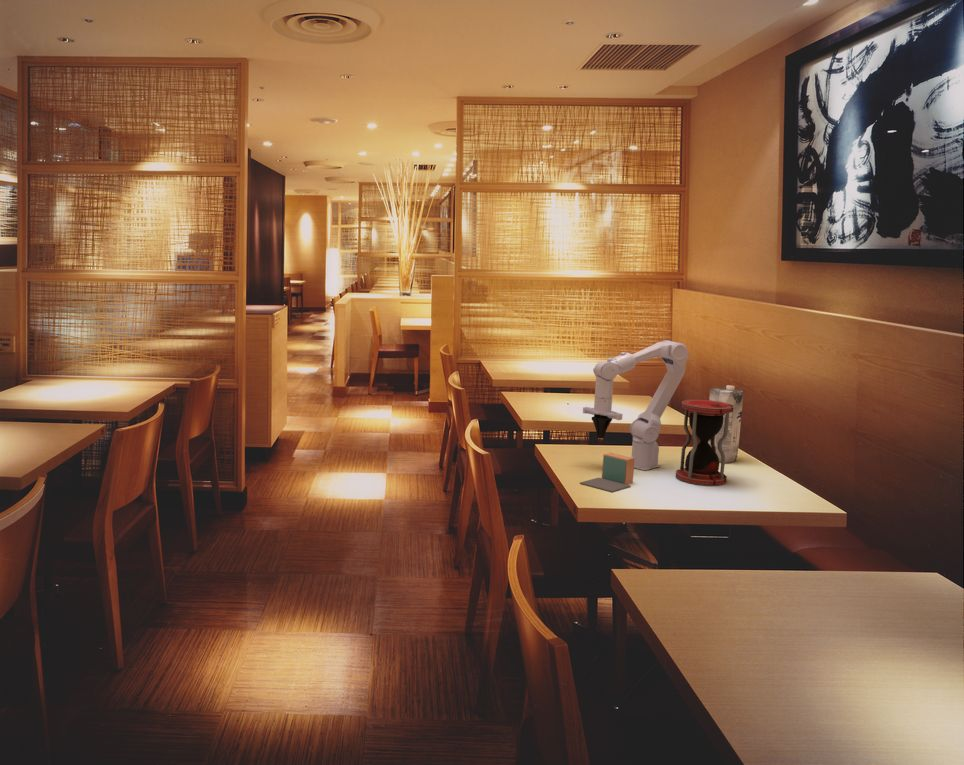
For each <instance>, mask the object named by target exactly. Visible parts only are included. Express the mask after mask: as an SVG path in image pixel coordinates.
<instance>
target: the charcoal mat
mask: <svg viewBox="0 0 964 765" xmlns="http://www.w3.org/2000/svg"><path fill="white" fill-rule="evenodd" d="M579 485H583V486H586V487H590V488H594V489H598V490H602V491H605V492H609V493H615V492H618V491H621V490H625V489H629V488H631V487H632V486H631V485H630V484H627V485H626V484H622V483H618V482H615V481H611V480H607V479H603V478H602V477H596V478H591V479H588V480H584V481H581V482H579Z"/></svg>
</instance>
